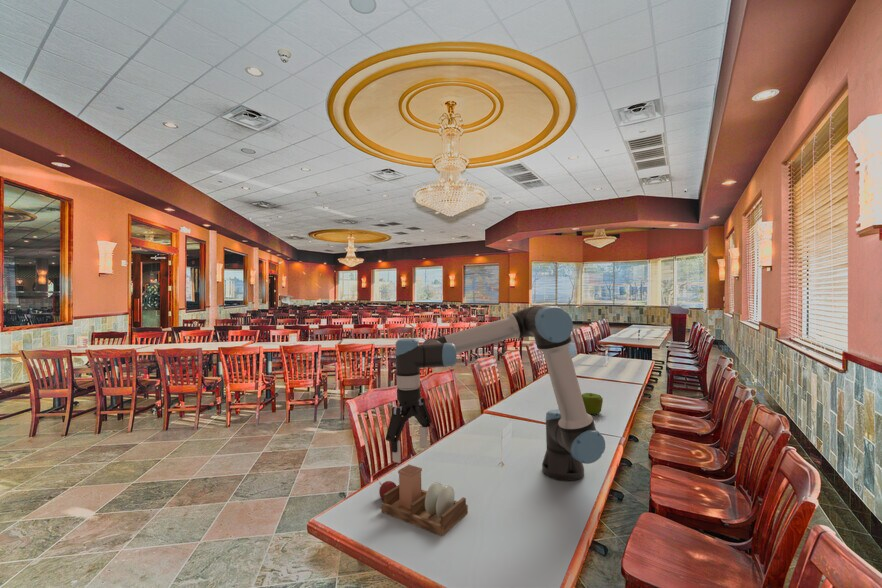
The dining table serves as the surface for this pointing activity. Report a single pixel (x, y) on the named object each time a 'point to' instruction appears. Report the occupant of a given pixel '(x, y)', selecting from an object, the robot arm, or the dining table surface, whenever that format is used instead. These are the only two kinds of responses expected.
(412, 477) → the tall tan box
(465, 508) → the rack
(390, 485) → the fruit
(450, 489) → the plates
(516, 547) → the dining table surface
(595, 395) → the apple
